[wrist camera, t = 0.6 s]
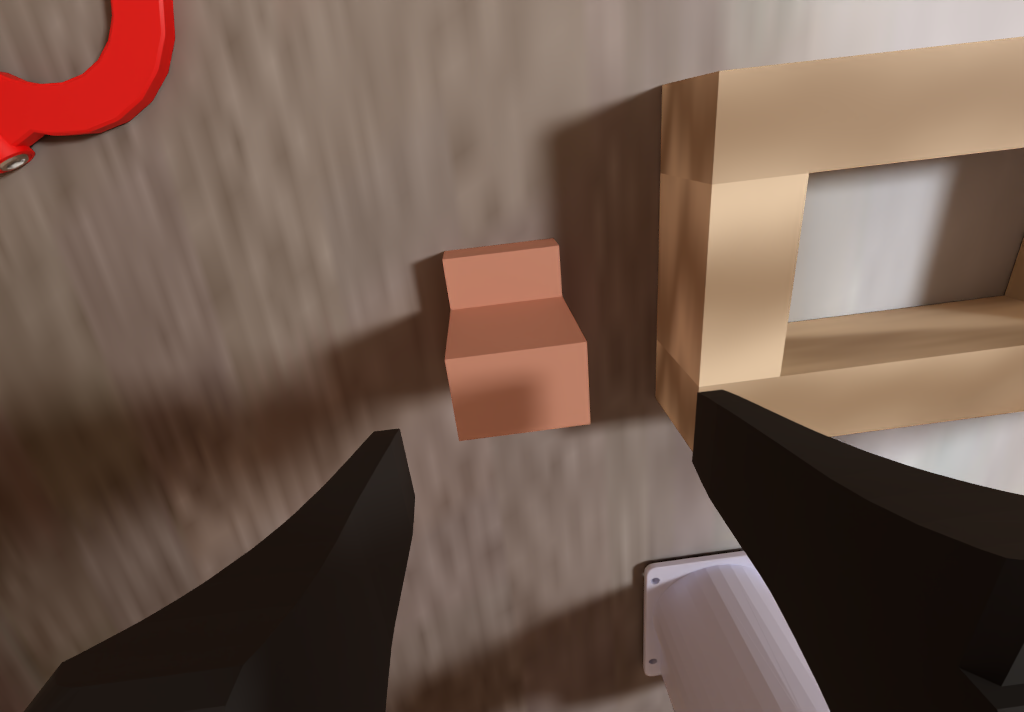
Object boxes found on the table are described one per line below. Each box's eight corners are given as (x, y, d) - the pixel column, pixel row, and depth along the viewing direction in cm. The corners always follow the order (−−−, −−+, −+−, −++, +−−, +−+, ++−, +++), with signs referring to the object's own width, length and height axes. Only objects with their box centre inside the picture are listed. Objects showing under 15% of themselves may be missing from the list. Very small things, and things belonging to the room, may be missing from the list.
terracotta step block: (561, 350, 22) (590, 424, 16) (462, 363, 22) (459, 441, 16) (553, 238, 20) (584, 278, 14) (444, 251, 20) (433, 297, 14)
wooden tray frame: (1044, 347, 24) (1164, 392, 20) (655, 397, 23) (694, 454, 19) (1169, 27, 18) (1370, -3, 14) (662, 85, 18) (719, 70, 14)
